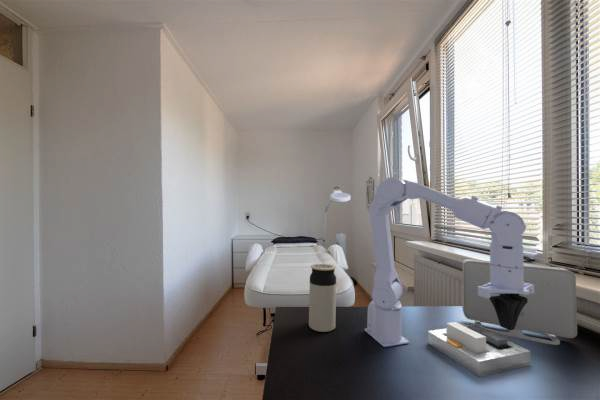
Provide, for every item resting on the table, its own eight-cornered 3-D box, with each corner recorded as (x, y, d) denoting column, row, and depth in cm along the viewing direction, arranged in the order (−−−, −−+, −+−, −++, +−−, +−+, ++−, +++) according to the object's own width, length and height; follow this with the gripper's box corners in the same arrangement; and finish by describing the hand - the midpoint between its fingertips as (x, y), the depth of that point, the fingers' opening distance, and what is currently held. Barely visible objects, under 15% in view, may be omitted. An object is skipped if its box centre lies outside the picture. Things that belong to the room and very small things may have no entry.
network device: (464, 327, 77) (464, 261, 77) (461, 316, 84) (461, 257, 85) (582, 350, 65) (580, 272, 66) (566, 336, 72) (564, 266, 73)
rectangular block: (446, 344, 64) (446, 323, 65) (455, 343, 65) (455, 321, 65) (476, 363, 57) (476, 338, 57) (486, 361, 58) (485, 336, 58)
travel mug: (336, 333, 71) (337, 269, 72) (308, 332, 71) (310, 268, 72) (333, 321, 79) (334, 263, 79) (308, 320, 79) (309, 262, 80)
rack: (427, 343, 66) (427, 324, 67) (473, 335, 71) (472, 318, 71) (479, 377, 53) (479, 353, 53) (530, 365, 58) (530, 344, 58)
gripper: (502, 271, 49) (502, 341, 49) (550, 268, 53) (552, 332, 53) (468, 263, 56) (469, 325, 55) (514, 261, 60) (514, 318, 60)
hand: (507, 328), depth 55 cm, fingers closed
